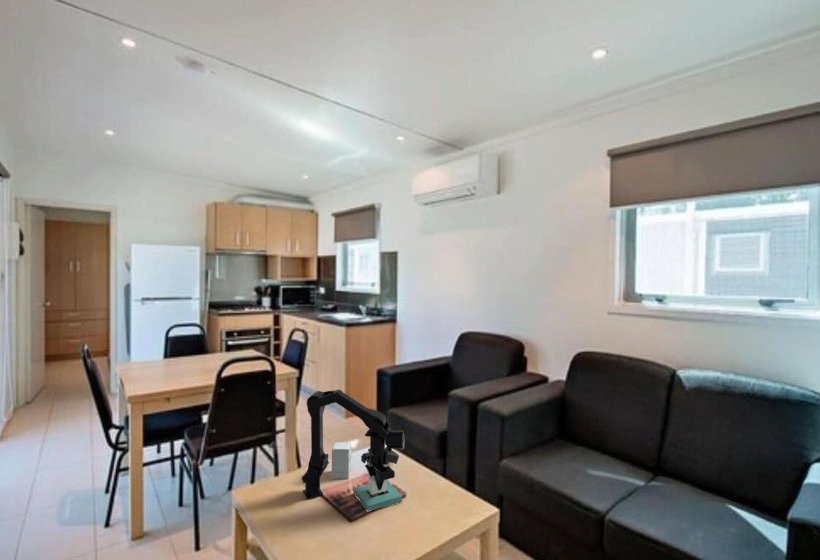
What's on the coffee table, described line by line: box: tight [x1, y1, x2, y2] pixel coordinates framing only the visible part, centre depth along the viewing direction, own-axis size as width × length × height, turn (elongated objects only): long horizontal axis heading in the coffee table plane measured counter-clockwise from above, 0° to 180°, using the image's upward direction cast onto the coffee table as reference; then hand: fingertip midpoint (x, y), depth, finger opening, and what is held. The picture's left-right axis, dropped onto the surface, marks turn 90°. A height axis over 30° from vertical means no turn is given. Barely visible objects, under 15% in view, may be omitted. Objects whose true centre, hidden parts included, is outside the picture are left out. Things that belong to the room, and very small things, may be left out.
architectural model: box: [384, 462, 394, 468], centre depth 182 cm, size 3×7×7 cm, turn 84°
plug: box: [367, 475, 388, 496], centre depth 161 cm, size 4×6×5 cm, turn 119°
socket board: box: [353, 480, 403, 511], centre depth 161 cm, size 14×14×2 cm
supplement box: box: [331, 441, 352, 480], centre depth 179 cm, size 7×7×13 cm
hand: (377, 487), depth 161 cm, fingers closed on plug, 4 cm apart
